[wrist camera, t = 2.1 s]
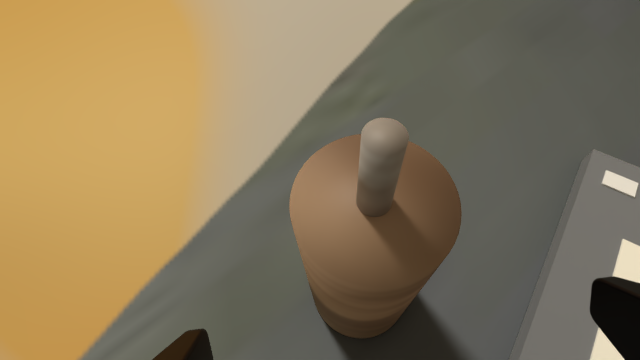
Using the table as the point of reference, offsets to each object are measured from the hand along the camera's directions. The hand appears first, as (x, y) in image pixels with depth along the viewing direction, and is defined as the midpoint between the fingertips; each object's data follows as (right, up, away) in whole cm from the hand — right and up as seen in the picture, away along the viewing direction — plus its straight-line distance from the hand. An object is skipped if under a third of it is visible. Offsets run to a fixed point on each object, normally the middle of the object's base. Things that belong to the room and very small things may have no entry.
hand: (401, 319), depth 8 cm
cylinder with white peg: (0, -2, +11) cm, 11 cm away
